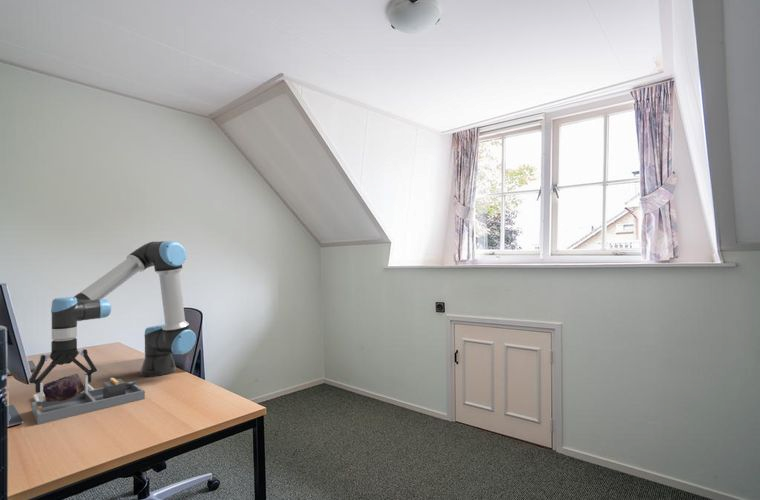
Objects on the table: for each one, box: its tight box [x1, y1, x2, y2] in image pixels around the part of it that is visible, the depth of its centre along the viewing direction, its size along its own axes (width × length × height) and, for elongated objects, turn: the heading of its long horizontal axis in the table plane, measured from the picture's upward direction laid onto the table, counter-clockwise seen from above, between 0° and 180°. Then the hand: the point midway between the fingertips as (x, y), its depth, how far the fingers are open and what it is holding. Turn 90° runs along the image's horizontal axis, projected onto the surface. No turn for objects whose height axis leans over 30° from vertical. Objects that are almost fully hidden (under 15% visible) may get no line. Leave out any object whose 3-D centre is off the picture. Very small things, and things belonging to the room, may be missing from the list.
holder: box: [31, 377, 146, 425], centre depth 157 cm, size 33×17×8 cm, turn 136°
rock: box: [43, 373, 84, 402], centre depth 151 cm, size 12×9×10 cm
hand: (64, 396), depth 151 cm, fingers closed on rock, 13 cm apart
